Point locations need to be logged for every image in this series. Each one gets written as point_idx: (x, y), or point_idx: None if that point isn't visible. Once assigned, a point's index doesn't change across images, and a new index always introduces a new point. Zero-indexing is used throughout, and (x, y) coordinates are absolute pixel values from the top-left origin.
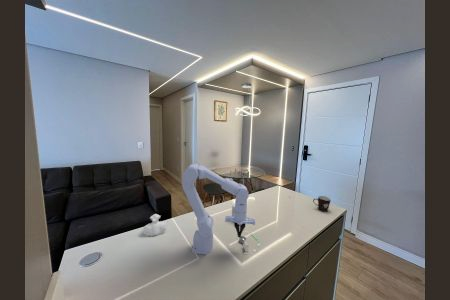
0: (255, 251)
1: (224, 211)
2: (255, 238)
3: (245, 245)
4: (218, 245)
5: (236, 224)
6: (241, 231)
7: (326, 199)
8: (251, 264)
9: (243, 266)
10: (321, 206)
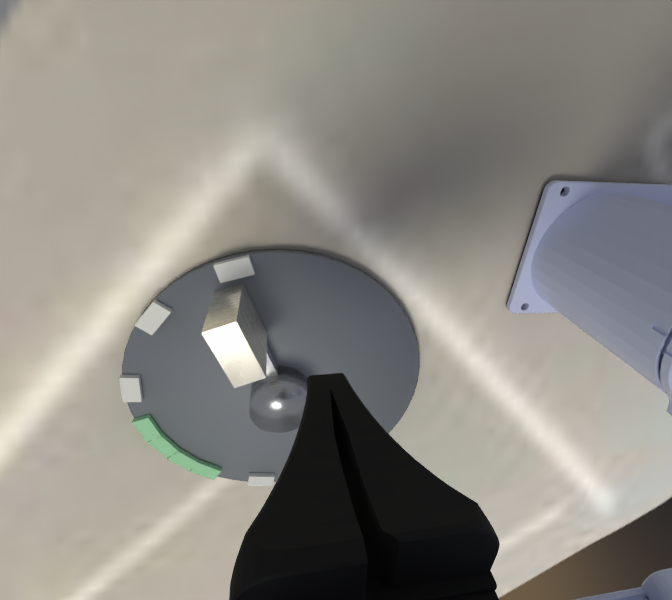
0: (145, 311)
1: None
2: (172, 444)
3: (239, 322)
4: (475, 309)
5: (448, 569)
6: (306, 446)
7: None
8: (161, 155)
9: (239, 111)
10: None
